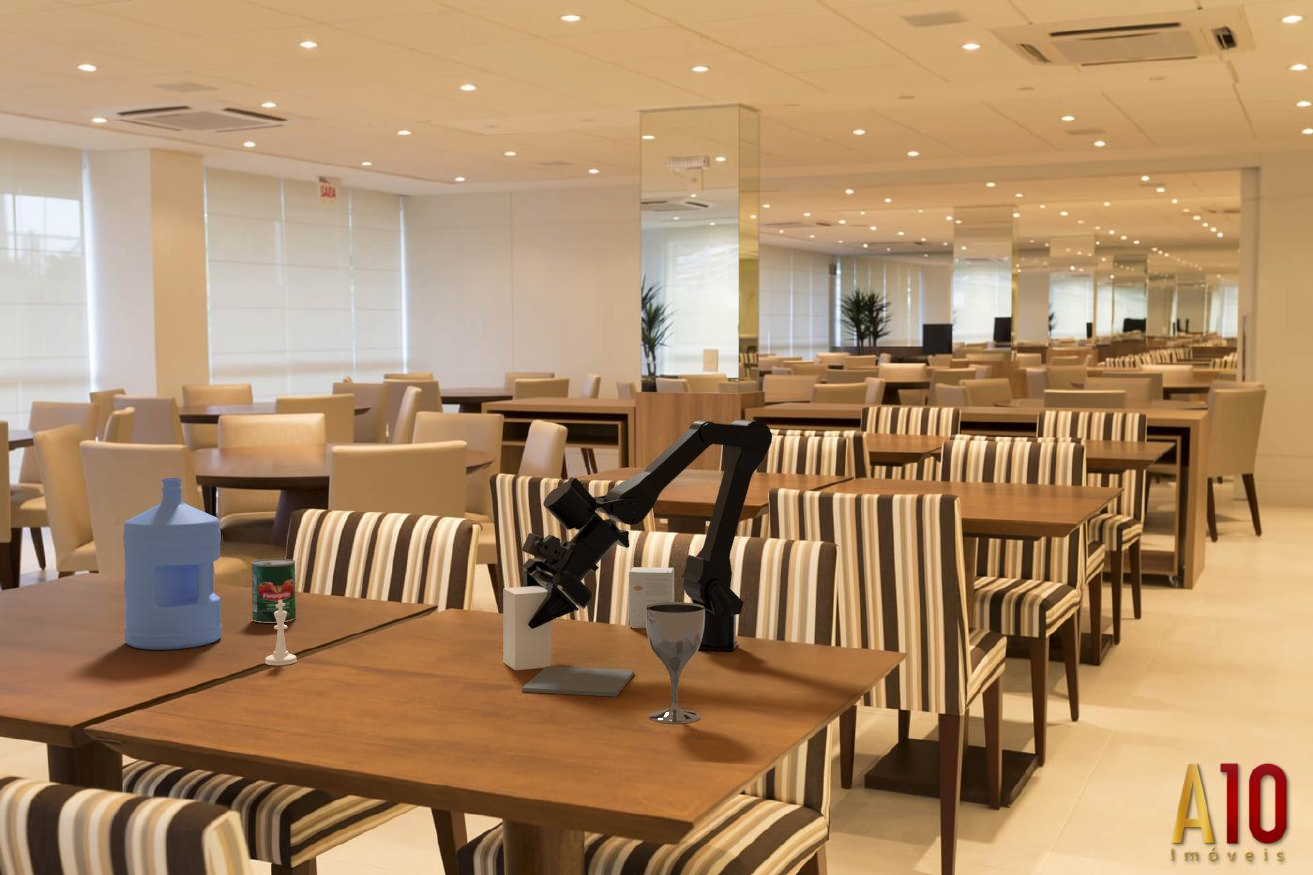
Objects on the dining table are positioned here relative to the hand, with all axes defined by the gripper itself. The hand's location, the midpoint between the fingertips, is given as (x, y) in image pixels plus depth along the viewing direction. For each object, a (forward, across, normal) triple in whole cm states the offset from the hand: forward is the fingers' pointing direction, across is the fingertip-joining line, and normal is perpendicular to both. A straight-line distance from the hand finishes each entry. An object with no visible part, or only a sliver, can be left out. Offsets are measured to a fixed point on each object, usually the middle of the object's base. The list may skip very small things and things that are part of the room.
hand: (520, 621), depth 206 cm
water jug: (+40, -40, -30) cm, 64 cm away
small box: (-18, -21, +28) cm, 39 cm away
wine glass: (-2, +37, +12) cm, 39 cm away
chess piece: (+30, -17, -19) cm, 39 cm away
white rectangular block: (+4, 0, +6) cm, 7 cm away
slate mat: (+2, +14, +8) cm, 17 cm away
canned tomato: (+27, -53, -17) cm, 62 cm away
